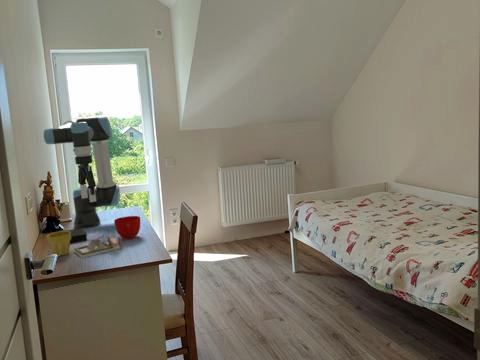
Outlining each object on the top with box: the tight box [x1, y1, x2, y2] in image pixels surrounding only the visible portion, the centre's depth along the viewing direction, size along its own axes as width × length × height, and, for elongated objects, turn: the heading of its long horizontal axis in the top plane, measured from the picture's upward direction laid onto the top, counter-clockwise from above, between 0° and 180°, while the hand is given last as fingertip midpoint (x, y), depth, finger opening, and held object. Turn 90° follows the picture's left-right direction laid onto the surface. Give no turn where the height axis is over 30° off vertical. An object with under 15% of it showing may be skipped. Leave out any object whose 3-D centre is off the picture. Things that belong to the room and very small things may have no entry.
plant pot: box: [46, 230, 71, 256], centre depth 209 cm, size 10×10×10 cm
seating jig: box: [73, 235, 123, 258], centre depth 211 cm, size 13×19×6 cm
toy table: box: [86, 233, 105, 251], centre depth 210 cm, size 10×9×6 cm
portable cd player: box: [52, 228, 88, 244], centre depth 236 cm, size 16×17×4 cm
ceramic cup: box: [114, 215, 141, 240], centre depth 228 cm, size 13×17×10 cm
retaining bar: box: [107, 235, 119, 247], centre depth 209 cm, size 15×3×2 cm, turn 25°
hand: (88, 199), depth 212 cm, fingers open, 13 cm apart
